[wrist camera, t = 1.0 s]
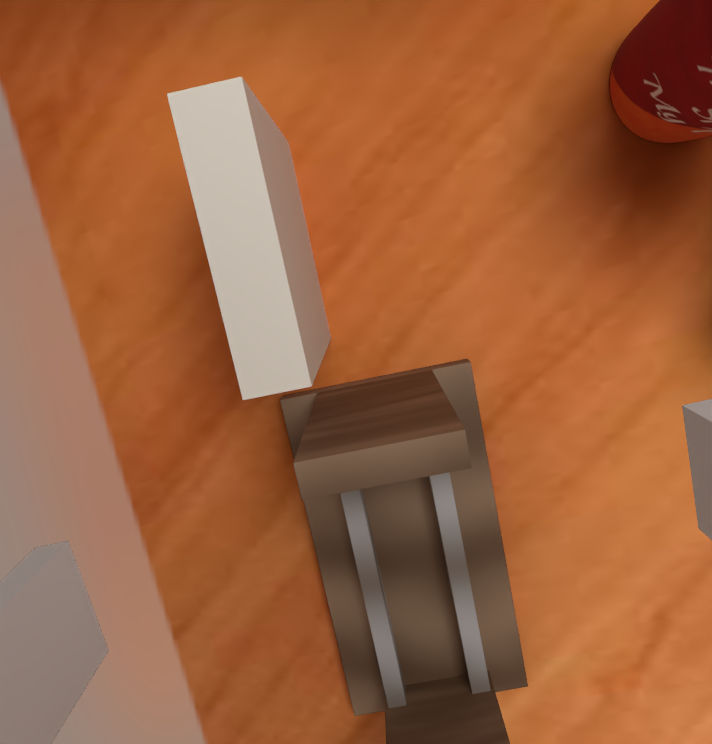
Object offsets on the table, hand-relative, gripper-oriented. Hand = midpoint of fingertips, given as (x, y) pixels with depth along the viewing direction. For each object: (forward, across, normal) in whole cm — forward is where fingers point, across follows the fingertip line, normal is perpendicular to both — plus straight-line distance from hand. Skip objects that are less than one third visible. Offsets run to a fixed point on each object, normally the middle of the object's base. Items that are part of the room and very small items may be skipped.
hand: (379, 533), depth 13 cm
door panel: (+21, -3, +6) cm, 22 cm away
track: (+20, 0, -11) cm, 23 cm away
